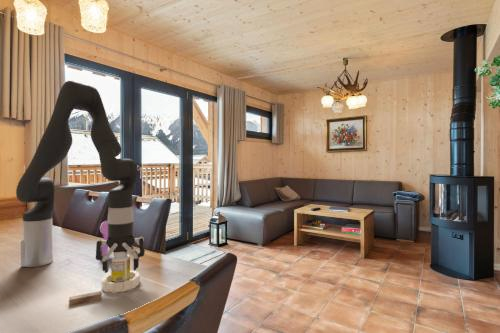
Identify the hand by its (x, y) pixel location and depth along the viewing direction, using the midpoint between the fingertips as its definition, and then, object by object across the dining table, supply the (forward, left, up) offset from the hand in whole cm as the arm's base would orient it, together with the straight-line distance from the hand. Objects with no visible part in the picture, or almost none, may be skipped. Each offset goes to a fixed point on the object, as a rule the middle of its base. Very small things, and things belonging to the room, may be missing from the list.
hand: (121, 270), depth 94 cm
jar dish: (0, 0, -5) cm, 5 cm away
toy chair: (-8, +29, -5) cm, 30 cm away
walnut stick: (-8, -9, -5) cm, 13 cm away
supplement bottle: (0, 0, -4) cm, 4 cm away
